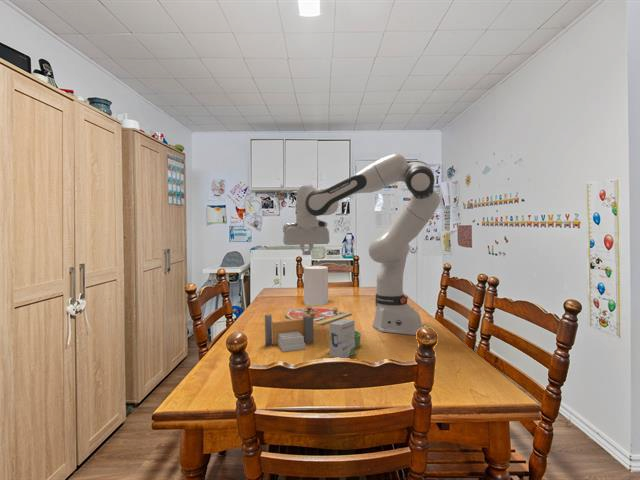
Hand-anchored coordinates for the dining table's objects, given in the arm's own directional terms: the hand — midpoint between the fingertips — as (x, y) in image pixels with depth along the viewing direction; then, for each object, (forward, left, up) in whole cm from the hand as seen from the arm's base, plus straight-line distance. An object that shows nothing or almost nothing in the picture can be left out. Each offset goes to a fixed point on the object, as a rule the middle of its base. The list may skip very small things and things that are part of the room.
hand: (306, 255), depth 162 cm
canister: (+20, -41, -31) cm, 55 cm away
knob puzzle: (+7, -16, -32) cm, 36 cm away
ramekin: (-27, +14, -31) cm, 44 cm away
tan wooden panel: (-9, +24, -30) cm, 39 cm away
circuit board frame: (-8, +25, -31) cm, 41 cm away
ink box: (-30, +25, -31) cm, 50 cm away
